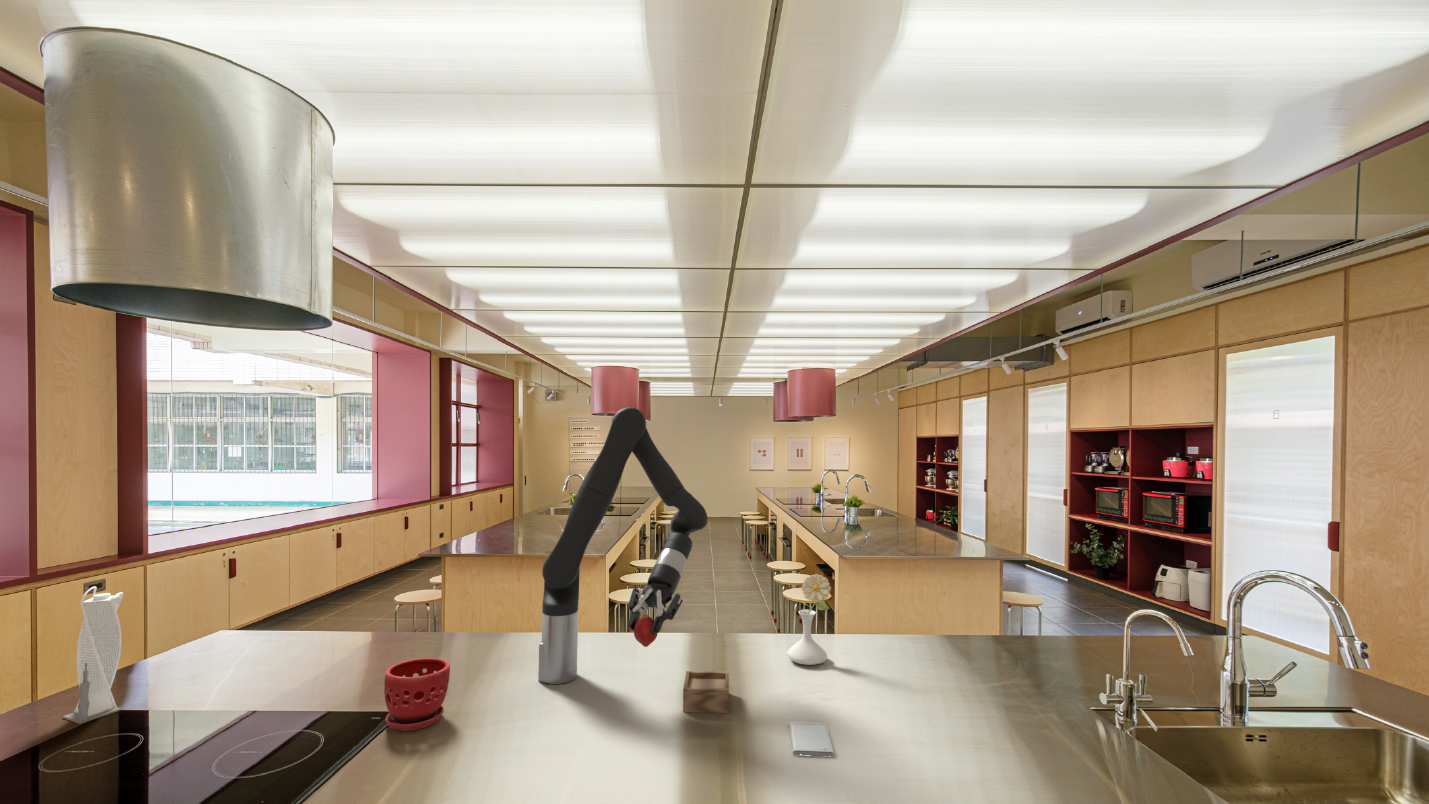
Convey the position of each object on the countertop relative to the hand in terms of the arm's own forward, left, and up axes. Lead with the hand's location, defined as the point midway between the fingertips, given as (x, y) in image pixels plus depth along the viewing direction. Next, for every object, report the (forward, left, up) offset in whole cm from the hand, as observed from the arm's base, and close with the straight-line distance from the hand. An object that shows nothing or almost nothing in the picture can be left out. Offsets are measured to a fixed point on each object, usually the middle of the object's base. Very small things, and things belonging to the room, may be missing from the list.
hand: (642, 630), depth 145 cm
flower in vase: (+44, +28, -17) cm, 55 cm away
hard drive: (+38, -16, -18) cm, 45 cm away
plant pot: (-49, -11, -17) cm, 53 cm away
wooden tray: (+16, +1, -17) cm, 23 cm away
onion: (+1, +2, -4) cm, 5 cm away
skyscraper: (-124, -10, -17) cm, 125 cm away
